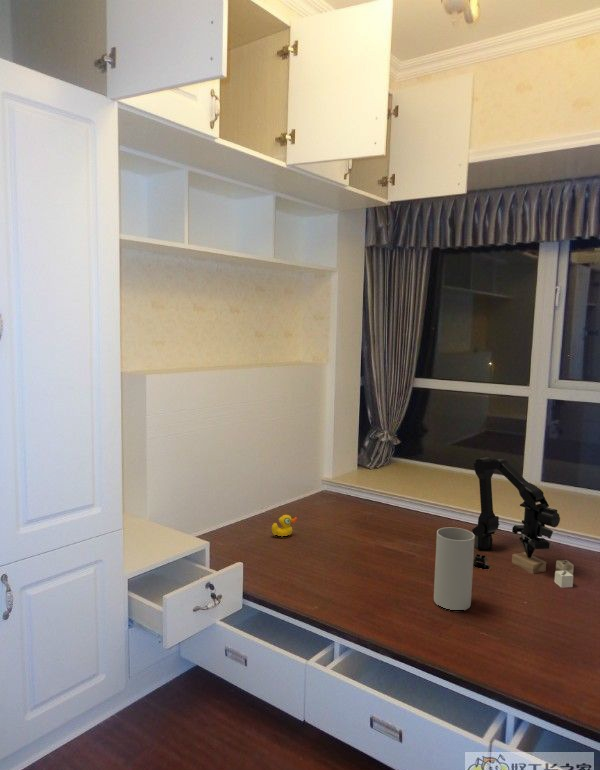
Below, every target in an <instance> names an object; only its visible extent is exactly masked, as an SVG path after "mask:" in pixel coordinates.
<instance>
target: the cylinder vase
mask: <svg viewBox="0 0 600 770" xmlns="http://www.w3.org/2000/svg"><path fill="white" fill-rule="evenodd" d="M474 544H475V535H474V534H473V532H472V531H470V530H468V529H465V528H460V527H448V526H447V527H441V528H439V529H437V531H436V543H435V562H434V563H435V564H434V565H435V566H434V586H433V601H434V603H435V604H436V605H437V606H438V605H439V606H441V607H443V608H446V609H450V610H464V611H467V610H468V609H469V608H470V607H471V605H472V604H471V603H472V587H473V571H474V567H473V561H474V558H475V556H474V554H475V547H474ZM439 606H438V607H439ZM441 607H440V608H441ZM443 608H442V609H443ZM446 609H445V610H446ZM450 610H449V611H450Z"/></svg>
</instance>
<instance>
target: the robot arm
mask: <svg viewBox="0 0 600 770" xmlns="http://www.w3.org/2000/svg"><path fill="white" fill-rule="evenodd" d="M473 468H474V473H475V475H476V476H477V478H478V484H479V498H480V514H479V516H478V519H477V525H476V526H475V527H474V528H473V529H472V530H471V532H472V533H473V534H474V535H475V539H474V549H477V550H478V551H479V552H480V551H481V552H483V551H485V552H488V551H494V549H493V543H494V541H493V540H494V539H493V535H494V534H495V533H496V532H497V530H498V529H499V526H500V522H499V521H500V518H499V516H498V515H496V514H495V512H494V505H493V491H492V477H493V475H494V473H495V470H498V472H499V473H501V474H502V475H503V476H504V478H506V479H507V480H508V481H509V482H510V483H511V484H512V485H513V486H514V487H515V488H516V489H517V491H518V493H519V496H520V497H521V498H522V500H523V501H522V503H520V504H519V507H522V508H524V513H523V514H524V515H523V519H521V523H522V524H521V525H520V524H519V525H514V526H513V527H511V528H512V530H511V531H512V533H513V534H514V535H517V534H518V533H520V535H521V536H520V537H519V540H520V543H521V545H522V547H523V550H524V552H526V554H527V557H528V558H531V556H532V555H533V553H534V552H535V550H548V549H550V548H551V543H550V542H549V540H547V539H551V538H552V536H553V533H554V531H553V530H552V529H550V528H549V527H551V528H557V527H559V524H560V521H561V517H560V514H559V513H558V509H556V508H551V507H549V506H550V505H549V503H548V502H547V498H546V497H545V496H544V491H543V490H542V489H541V488H540V487H538V486H536V485H535V484H533V483H531V482H529V481H528V480H526V478H524V477H523V476H522V475H521V474H520V473H519V472H517V470H515V468H513V466H511V464H509V462H508V460H507V459H505V458H501V459H499V458H494V459H492V458H491V457H482V458H477V459H476V460H474V462H473ZM544 537H546V538H547V539H546V538H544Z"/></svg>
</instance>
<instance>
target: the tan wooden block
mask: <svg viewBox="0 0 600 770" xmlns="http://www.w3.org/2000/svg"><path fill="white" fill-rule="evenodd" d="M511 564H513V565H515V566H517V567H518V568H520V567H521V569H523V570H525V571H526V572H528V573H530V574H532V575H534V573H535V574H538V573H543V572H547V561H545V560H543V559H541V558H539V557H537V556H535V555H533V554H532V556H531V558H528V557H527V554H526V552H525V551H523V552H515V553H513V554H511Z"/></svg>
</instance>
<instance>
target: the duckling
mask: <svg viewBox="0 0 600 770" xmlns="http://www.w3.org/2000/svg"><path fill="white" fill-rule="evenodd" d="M297 518H298V517H296V516H295V517H294V518H292V517H291V515H289V514H284V515H282V516H281V517H279V518H278V522H279V523H280V525H281V527H279V526H278V525H279V524H278V523H277V522H273V524H272V525H271V532H272V534H273V536H275V535H278V536H287V535H289V536H291V534H292V533H293V527H292V526H291V524H295V523H296V522H297Z"/></svg>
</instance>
